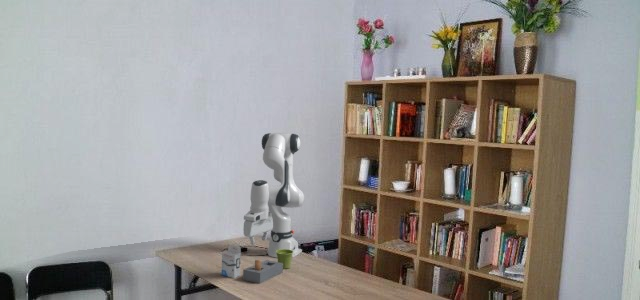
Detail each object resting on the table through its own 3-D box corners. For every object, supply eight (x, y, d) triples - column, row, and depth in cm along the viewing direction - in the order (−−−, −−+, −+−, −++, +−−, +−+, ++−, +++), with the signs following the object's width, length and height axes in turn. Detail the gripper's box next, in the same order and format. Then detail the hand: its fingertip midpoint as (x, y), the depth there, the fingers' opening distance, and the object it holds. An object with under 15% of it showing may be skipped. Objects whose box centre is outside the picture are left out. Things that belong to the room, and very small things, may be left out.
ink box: (220, 275, 234) (221, 246, 234) (227, 272, 239) (228, 244, 238) (234, 278, 230) (234, 248, 229) (240, 275, 235) (241, 246, 234)
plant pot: (290, 271, 245) (290, 254, 245) (273, 269, 247) (273, 252, 246) (294, 265, 254) (295, 250, 254) (278, 264, 256) (278, 248, 256)
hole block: (266, 269, 246) (266, 259, 246) (282, 272, 242) (282, 263, 241) (243, 279, 228) (243, 269, 228) (260, 283, 224) (260, 273, 224)
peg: (256, 277, 233) (257, 259, 232) (261, 278, 231) (262, 260, 231) (253, 279, 230) (253, 260, 230) (258, 280, 229) (258, 261, 228)
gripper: (266, 210, 240) (265, 237, 241) (241, 216, 222) (240, 245, 222) (276, 211, 237) (275, 238, 238) (252, 218, 219) (251, 247, 220)
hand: (258, 242), depth 230 cm, fingers open, 8 cm apart
